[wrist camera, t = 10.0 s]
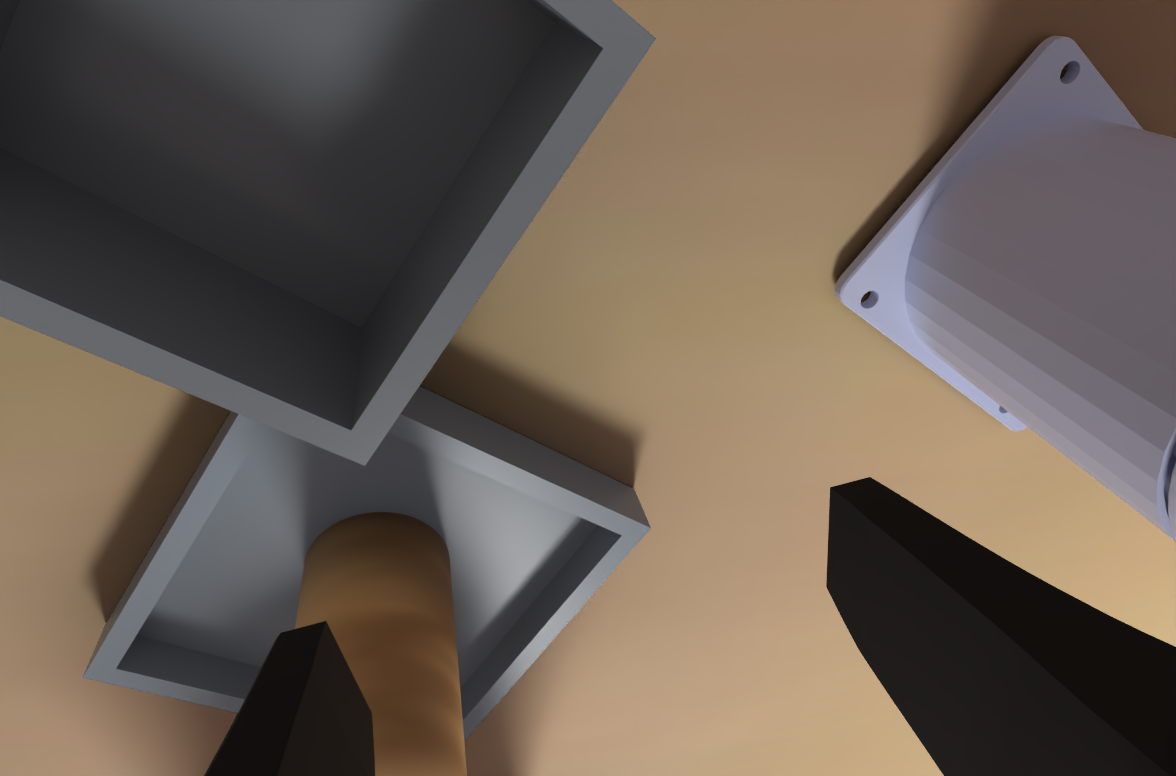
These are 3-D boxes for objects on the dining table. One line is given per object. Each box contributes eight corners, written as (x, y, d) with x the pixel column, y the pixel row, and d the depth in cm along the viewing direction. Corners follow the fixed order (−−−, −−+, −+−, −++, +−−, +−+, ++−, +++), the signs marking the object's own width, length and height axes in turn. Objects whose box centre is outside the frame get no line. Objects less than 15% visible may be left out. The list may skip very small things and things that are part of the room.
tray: (634, 488, 23) (650, 528, 21) (444, 713, 26) (447, 761, 25) (283, 321, 18) (273, 356, 16) (105, 624, 21) (82, 677, 20)
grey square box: (588, 12, 16) (656, 38, 12) (373, 347, 19) (365, 465, 14) (125, -372, 12) (-30, -547, 7) (-63, 134, 14) (-251, 212, 10)
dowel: (476, 542, 22) (504, 766, 16) (404, 632, 23) (405, 870, 17) (349, 491, 20) (328, 722, 14) (278, 591, 21) (231, 842, 15)
